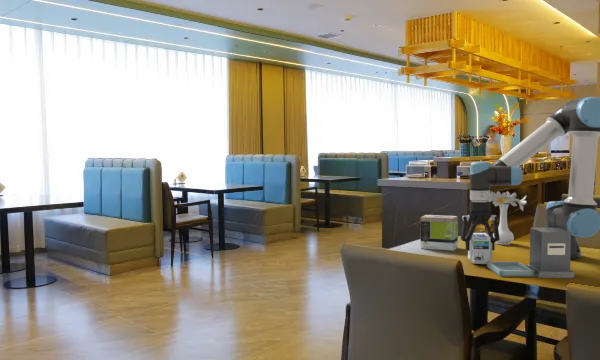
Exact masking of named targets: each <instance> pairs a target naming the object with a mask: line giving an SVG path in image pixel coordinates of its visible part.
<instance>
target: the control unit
mask: <svg viewBox="0 0 600 360" xmlns="http://www.w3.org/2000/svg"><path fill="white" fill-rule="evenodd" d="M529 233H530V234H529V238H530V239H529V264H525V266H527V267H528V268H530V269H532V270H534V271H535V277H538V278H540V279H543V278H544V279H545V278H546V279H563V278H564V279H574V278H575V271H572V270H571V259H570V255H571V232H569V231H566V230H563V229H561V228H546V227H530V230H529Z"/></svg>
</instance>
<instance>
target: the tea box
mask: <svg viewBox="0 0 600 360" xmlns="http://www.w3.org/2000/svg"><path fill="white" fill-rule="evenodd" d="M458 218H459V217H458V215H437V214H436V215H435V214H425V215H423V216H421V217H420V218H419V220H420V221H419V222H420V233H419V234H420V249H424V250H425V249H426V250H438V251H452V252H454V251H456V249H458V243H459V242H458V241H459V239H458V238H459V237H458V236H459V235H458V233H459V232H458V231H459V230H458V229H459V227H458V225H459V223H458V222H459V221H458Z"/></svg>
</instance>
